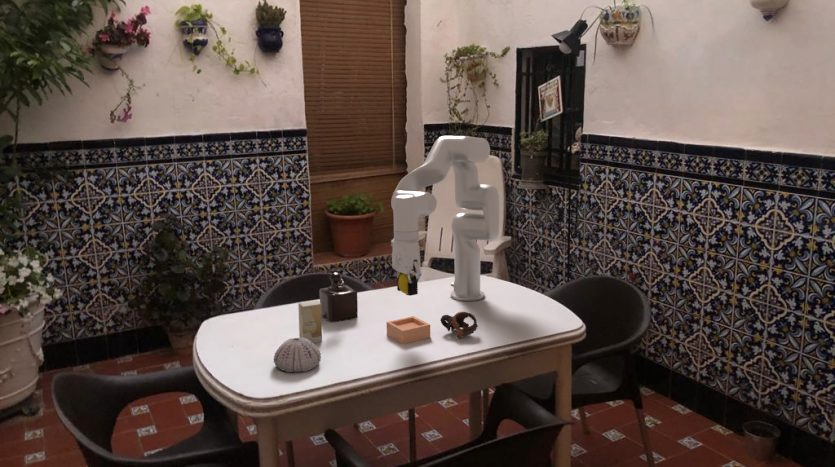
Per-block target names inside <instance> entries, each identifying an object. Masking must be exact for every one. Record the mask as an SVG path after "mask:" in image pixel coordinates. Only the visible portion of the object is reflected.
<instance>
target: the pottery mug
mask: <svg viewBox="0 0 835 467" xmlns="http://www.w3.org/2000/svg"><path fill="white" fill-rule="evenodd" d="M467 318H470V319H471V320H472V321H473V324H471V325H470V324H469V323H468V322H465V320H466V319H467ZM440 323H441V325H442V326H443V327H444V328H445V329H447V331H448V332H450V331H454V330H455V331H456V334H455V338H456V339H458V340H461V339H462V338H463V337H467V336H470V335H472V334H474V333H475V332H476V331H477V329H478V327H479V325H478V322H477V317H475V315H474V314H472V313H470V312H467V311H459V312H457V313H455V314H454V315H449V314H443V315H442V316H441V317H440Z"/></svg>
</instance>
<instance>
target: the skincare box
mask: <svg viewBox="0 0 835 467" xmlns="http://www.w3.org/2000/svg"><path fill="white" fill-rule="evenodd" d="M297 304H298V305H297V306H298V332H299V334H298V335H299V336H298V338H301V337H303V338H306V339H308V340H310V341H311V342H312V343H313V344H314V343H316V342H317V343H318V342H323V330H322V328H323V327H322V326H323V324H322V323H323V322H322V321H323V320H322V316H321V303H320V301H318V300H311V301H305V302H304V301H303V302H298V303H297Z"/></svg>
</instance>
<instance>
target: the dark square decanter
mask: <svg viewBox="0 0 835 467" xmlns="http://www.w3.org/2000/svg"><path fill="white" fill-rule="evenodd" d="M329 281H331V284H330V286H329V285H327V286H328V287H324V288H319V289H318V290H319V291H318V292H319V293H318V294H319V303H321V318H323V319H324V320H326V321H328V322H330V323H335V322H344V321H348V320H353V319H358V308H359V306H358V305H359V304H358V292H357V291H356V290H354V289H353V288H352V287H351V286H349V285H347V284H345V281H344V279H343V278H342V275H341V273H340V270H339V269H336V270H335V272H332V273H330V275H329Z"/></svg>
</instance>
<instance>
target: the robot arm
mask: <svg viewBox="0 0 835 467" xmlns="http://www.w3.org/2000/svg"><path fill="white" fill-rule="evenodd" d="M490 153H491V147H490V143H489V141H488V140H487V139H486V138H484V137H474V136H468V135H442V136H439V137H438V138H437V139H436V140H435V141H434V143H433V145H432V147H431V149H430V151H429V153H428V154H427V156H426V158H425V159H424V162H423V164H422V165H420V166H419V167H417V168H415V169H414V170H411V172H409V173H408V174H406V175H405V176H404V177H402V178H401V180H400V181H399V182H398V184H397V186H396V188H395V190H394V191H393V193H392V196H391V202H390V203H391V204H390V206H391V209H392V212H393V240H392V251H391V267H392V269H393V270H394V271H395V273H396V274H395V277H396V282H397V285H396V287H397V288H396V290H397V291H398V292H402V291H401V290H400V289H399V286H398V280H399V276H400V275H401V273H403V274H408V280H409V283H408V295H407V296H415V295H418V294H419V292H418V291H419V290H418V289H419V288H418V287H419V285H418V283H419V279H420V278H421V276H422V275H423V273H422V271H421V253H420V244H419V240H420V239H419V218H420V217H427V216H430V215H432V214H433V213H434V212H435V210H436V208H437V204H438V202H437V198H436V197H435V195H434V194H433V193H431V192H428V191H418V190H421V189H423V188H427V187H429V186H432V185H437V184H438V183H439V184H440V183H441V182H443V181H444V180H445V179H446V178H447V175H448V173H449V171H450V169H451V167H452V169H453V175H454V200H455V204H456V207H458V209H461V210H467V211H478V212H479V211H480V212H483V213H477V212H459V213H457V214H455V215H454V216H453V217H452V220H451V232H452V238H453V245H454V249H453V250H454V252H453V253H454V282H451V283H450V286H451V287H452V288H453V290H452V291H451V292H450V297H451V299H454V300H456V301H461V302H462V301H463V302H473V301H478V300H481V299H483V298H485V292H484V291H482V290H481V249H480V245H479V244H478V242H477V241H485V242H486V241H488V242H491V241H495V240H496V239H497V238H498V236H499V233H500V194H499V191H498V189H497V188H496V187H495V186H494V185H492V184H485V183H484V184H483V183H480V182H479V170H478V167H477V165H476V163H478V164H481V163H485V162H486V161H487V160H488V158H489V156H490ZM413 274H414V276H413V277H411V275H413Z"/></svg>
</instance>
